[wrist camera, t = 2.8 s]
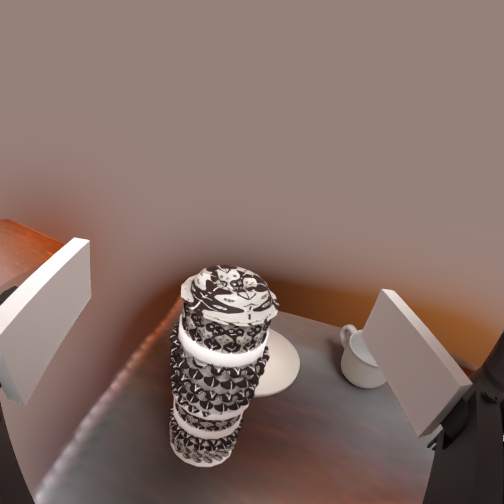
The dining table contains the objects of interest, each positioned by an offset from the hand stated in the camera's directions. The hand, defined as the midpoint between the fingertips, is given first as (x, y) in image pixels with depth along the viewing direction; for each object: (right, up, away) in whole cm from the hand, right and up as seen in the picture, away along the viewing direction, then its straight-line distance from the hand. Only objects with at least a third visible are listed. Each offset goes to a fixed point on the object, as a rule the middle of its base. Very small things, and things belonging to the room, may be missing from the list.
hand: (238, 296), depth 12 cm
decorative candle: (-6, -23, +20) cm, 31 cm away
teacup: (+21, -22, +40) cm, 50 cm away
